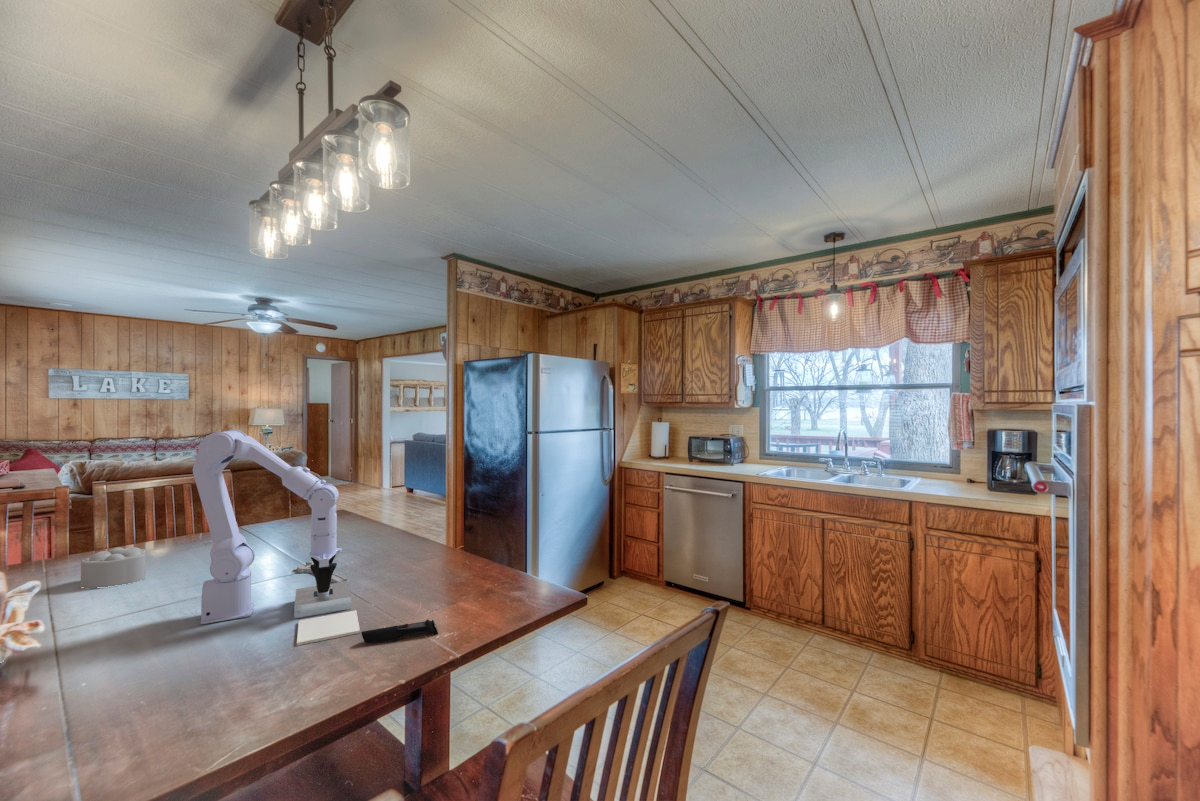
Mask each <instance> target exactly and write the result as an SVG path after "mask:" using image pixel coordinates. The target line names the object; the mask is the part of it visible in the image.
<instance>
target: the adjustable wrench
mask: <svg viewBox="0 0 1200 801" xmlns="http://www.w3.org/2000/svg"><path fill="white" fill-rule="evenodd" d="M313 564H314V563H313V561H312V560H309V561H305V565H303V564H297V565H296V572H297V571H298V574H306V573H307V574H313V572H312V571H311V568H310V567H311V565H313ZM305 572H306V573H305ZM346 581H349V578H347V577H344V576H342V575H339V574H337V573H334V572H333V574H332V577H331V582H330V583H332V584H333V583H340V582H346ZM349 582H350V581H349Z"/></svg>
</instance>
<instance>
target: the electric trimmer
mask: <svg viewBox="0 0 1200 801" xmlns="http://www.w3.org/2000/svg"><path fill="white" fill-rule="evenodd" d="M360 633H361V637H362V639H363V642H364V643H369V644H370V643H384V642H396V641H398V640H400V639H403V638H410V637H418V636H424V635H432V636H436V635H438V634H439V631H438V626H437V625H436V622H435V621H434V619H432V620H429V619H426V620H425V621H419V622H414V623H413V622H412V623H409V624H408V623H405V624H399V625H392V626H386V627H381V628H375V629H368V630H364V631H360ZM437 633H438V634H437Z"/></svg>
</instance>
